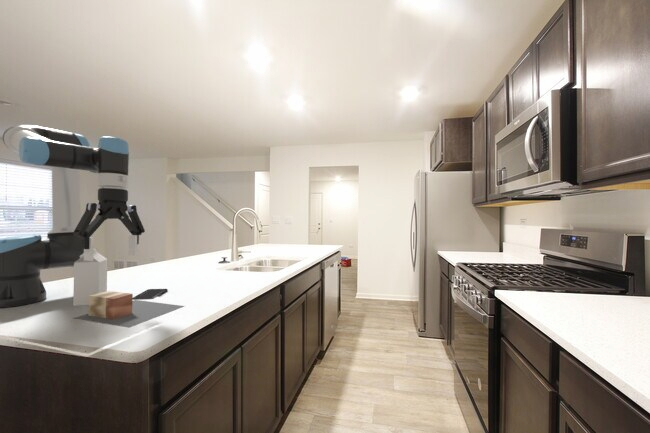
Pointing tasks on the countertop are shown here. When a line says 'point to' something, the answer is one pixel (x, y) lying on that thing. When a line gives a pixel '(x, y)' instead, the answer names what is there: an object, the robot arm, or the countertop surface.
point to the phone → (150, 294)
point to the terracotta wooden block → (110, 304)
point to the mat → (135, 314)
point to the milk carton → (89, 278)
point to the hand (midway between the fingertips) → (112, 257)
